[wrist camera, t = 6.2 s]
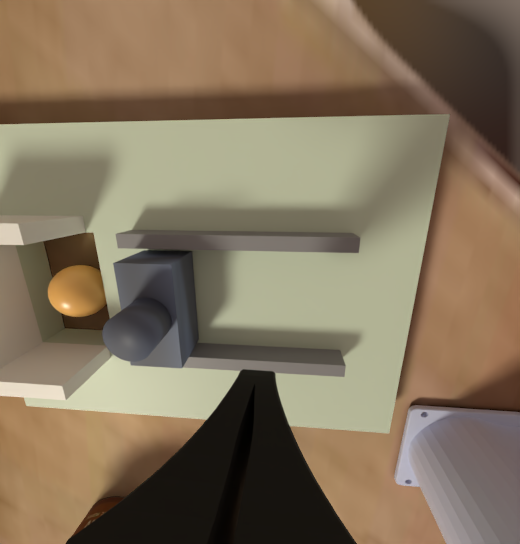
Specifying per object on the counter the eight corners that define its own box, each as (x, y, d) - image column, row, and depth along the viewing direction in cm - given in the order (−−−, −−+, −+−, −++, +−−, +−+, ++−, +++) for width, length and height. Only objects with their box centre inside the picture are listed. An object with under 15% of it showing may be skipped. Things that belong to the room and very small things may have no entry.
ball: (117, 259, 19) (83, 274, 15) (124, 304, 20) (94, 327, 16) (69, 258, 19) (26, 273, 15) (79, 303, 20) (40, 326, 16)
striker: (192, 251, 16) (151, 277, 11) (198, 339, 17) (166, 395, 13) (143, 250, 16) (83, 275, 11) (155, 337, 18) (107, 391, 13)
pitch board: (428, 124, 14) (473, 103, 11) (379, 410, 20) (398, 455, 17) (-27, 133, 17) (-106, 118, 13) (48, 387, 23) (6, 422, 19)
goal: (82, 215, 16) (17, 223, 12) (110, 357, 19) (66, 400, 15) (-8, 214, 16) (-98, 222, 12) (33, 353, 19) (-29, 393, 15)
